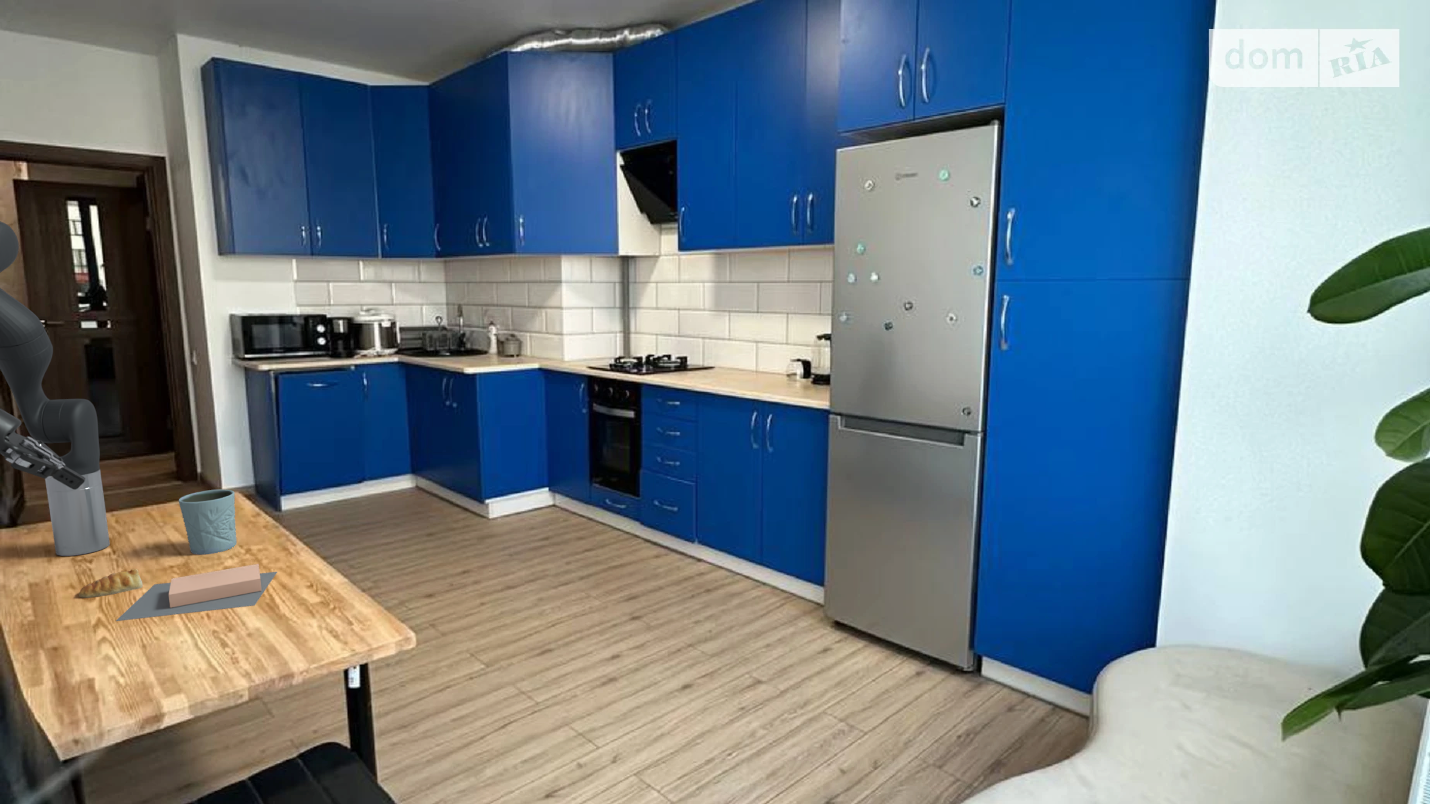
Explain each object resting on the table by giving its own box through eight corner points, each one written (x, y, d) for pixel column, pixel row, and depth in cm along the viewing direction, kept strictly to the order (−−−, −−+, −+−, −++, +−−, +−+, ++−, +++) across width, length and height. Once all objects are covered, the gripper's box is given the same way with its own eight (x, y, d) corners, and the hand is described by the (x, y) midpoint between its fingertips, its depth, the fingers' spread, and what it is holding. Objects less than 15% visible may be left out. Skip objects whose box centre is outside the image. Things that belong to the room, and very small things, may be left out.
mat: (154, 587, 147) (154, 584, 147) (277, 574, 153) (277, 571, 153) (116, 624, 131) (115, 620, 131) (254, 608, 137) (254, 605, 137)
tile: (168, 594, 136) (260, 578, 143) (171, 578, 143) (258, 563, 151) (170, 608, 136) (261, 591, 143) (173, 591, 144) (259, 576, 151)
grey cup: (248, 545, 171) (243, 493, 169) (198, 559, 162) (192, 504, 160) (225, 537, 176) (220, 487, 174) (176, 550, 168) (169, 497, 166)
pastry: (82, 606, 139) (79, 586, 139) (77, 596, 144) (74, 576, 143) (145, 591, 146) (143, 572, 145) (138, 582, 151) (136, 563, 150)
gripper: (-19, 410, 119) (93, 476, 128) (2, 398, 130) (103, 459, 139) (-60, 448, 117) (56, 512, 126) (-36, 432, 128) (70, 492, 137)
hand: (81, 484), depth 132 cm, fingers closed
